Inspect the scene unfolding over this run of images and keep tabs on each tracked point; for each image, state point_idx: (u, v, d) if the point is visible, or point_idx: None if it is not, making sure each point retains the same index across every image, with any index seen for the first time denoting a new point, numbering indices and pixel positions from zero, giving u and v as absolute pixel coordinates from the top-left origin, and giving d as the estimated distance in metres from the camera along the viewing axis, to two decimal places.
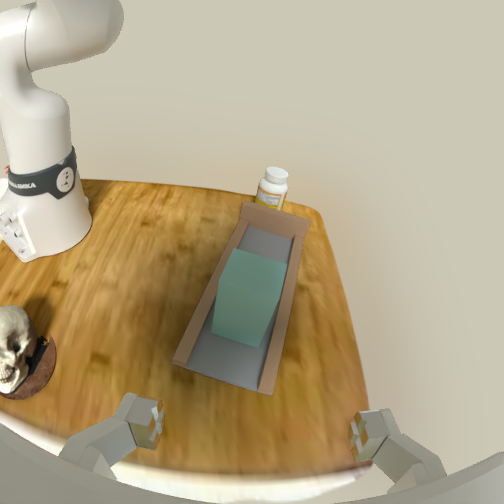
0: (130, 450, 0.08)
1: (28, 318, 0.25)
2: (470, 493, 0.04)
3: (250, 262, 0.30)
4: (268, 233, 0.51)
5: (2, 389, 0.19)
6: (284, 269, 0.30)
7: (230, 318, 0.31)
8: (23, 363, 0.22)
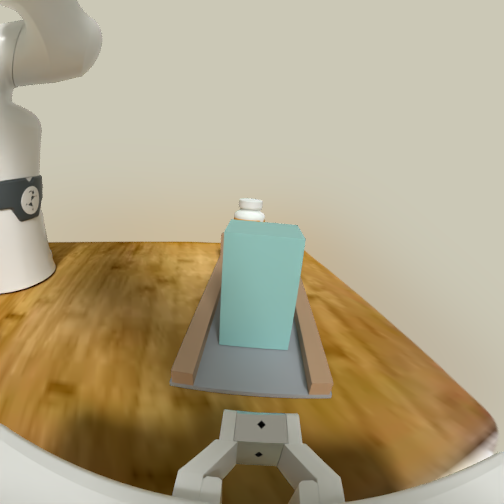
0: (230, 469, 0.08)
1: None
2: (470, 493, 0.04)
3: (255, 224, 0.24)
4: None
5: None
6: (296, 227, 0.25)
7: (244, 302, 0.23)
8: None
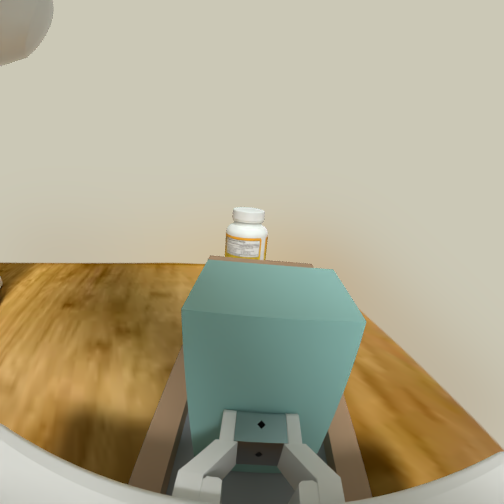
0: (230, 469, 0.08)
1: None
2: (470, 493, 0.04)
3: (254, 274, 0.12)
4: None
5: None
6: (334, 276, 0.13)
7: None
8: None
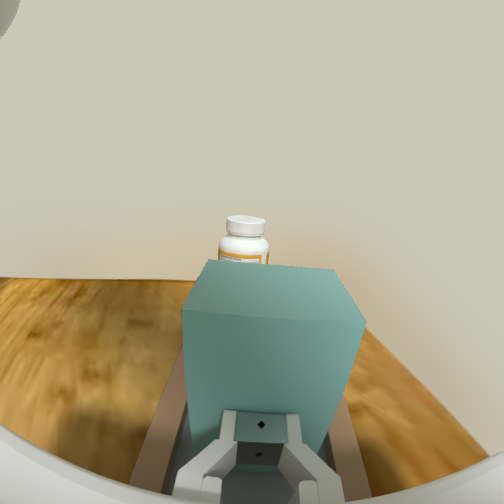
0: (230, 469, 0.08)
1: None
2: (470, 493, 0.04)
3: (254, 274, 0.12)
4: None
5: None
6: (334, 275, 0.13)
7: None
8: None
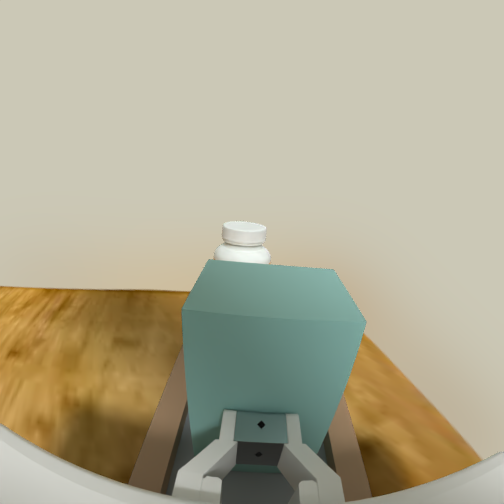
0: (230, 469, 0.08)
1: None
2: (470, 493, 0.04)
3: (255, 274, 0.12)
4: None
5: None
6: (334, 275, 0.13)
7: None
8: None
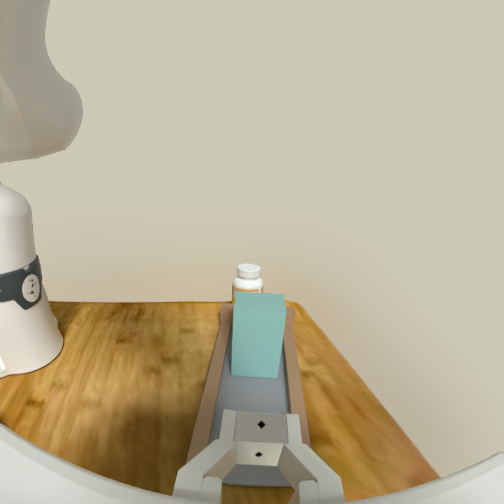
0: (230, 469, 0.08)
1: None
2: (470, 493, 0.04)
3: (254, 297, 0.35)
4: None
5: None
6: (282, 297, 0.36)
7: (247, 349, 0.34)
8: None
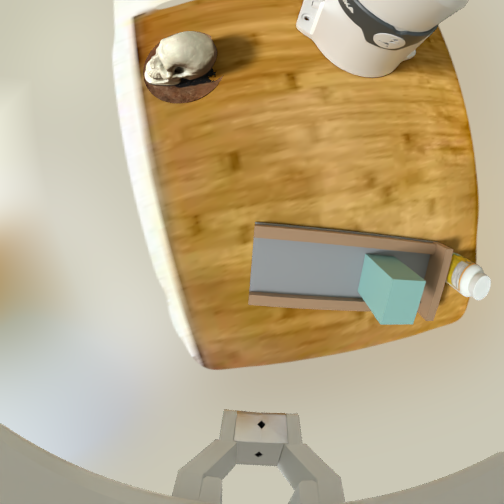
0: (230, 469, 0.08)
1: (208, 62, 0.29)
2: (470, 493, 0.04)
3: (412, 297, 0.31)
4: (423, 275, 0.40)
5: (146, 77, 0.32)
6: (407, 323, 0.32)
7: (373, 276, 0.36)
8: (176, 80, 0.32)
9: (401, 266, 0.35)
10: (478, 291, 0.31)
